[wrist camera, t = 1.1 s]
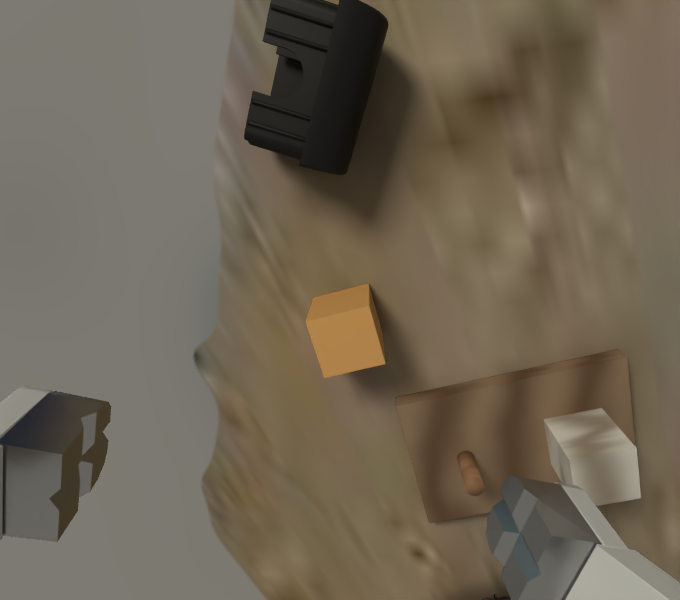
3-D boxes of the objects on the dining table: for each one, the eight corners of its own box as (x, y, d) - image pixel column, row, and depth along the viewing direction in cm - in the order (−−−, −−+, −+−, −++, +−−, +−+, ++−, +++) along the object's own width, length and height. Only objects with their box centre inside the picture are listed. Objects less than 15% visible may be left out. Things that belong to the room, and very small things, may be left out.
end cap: (347, 171, 36) (344, 179, 30) (261, 145, 36) (239, 147, 29) (387, 34, 33) (392, 8, 26) (292, 3, 32) (274, -30, 26)
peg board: (617, 349, 40) (667, 391, 33) (630, 475, 44) (676, 535, 37) (394, 397, 43) (400, 445, 36) (427, 511, 47) (437, 572, 40)
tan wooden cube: (368, 283, 39) (369, 305, 34) (383, 335, 40) (385, 364, 35) (313, 297, 40) (305, 321, 34) (329, 347, 41) (324, 377, 36)
